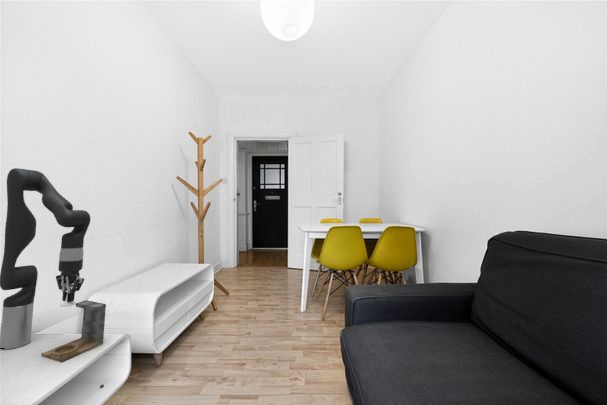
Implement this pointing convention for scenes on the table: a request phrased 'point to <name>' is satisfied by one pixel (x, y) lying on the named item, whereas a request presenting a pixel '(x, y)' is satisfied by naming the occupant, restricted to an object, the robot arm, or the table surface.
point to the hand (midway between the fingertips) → (68, 300)
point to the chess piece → (65, 303)
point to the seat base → (83, 333)
